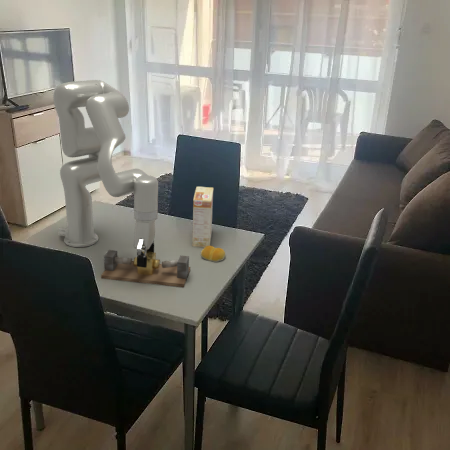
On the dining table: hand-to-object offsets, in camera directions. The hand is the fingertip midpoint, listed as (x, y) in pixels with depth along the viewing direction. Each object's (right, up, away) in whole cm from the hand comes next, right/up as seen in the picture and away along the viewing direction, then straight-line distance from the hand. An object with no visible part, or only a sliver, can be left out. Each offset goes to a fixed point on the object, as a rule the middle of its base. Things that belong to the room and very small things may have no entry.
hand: (145, 259), depth 169 cm
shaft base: (0, -5, +2) cm, 5 cm away
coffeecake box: (+18, +6, +30) cm, 35 cm away
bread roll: (+22, 0, +16) cm, 28 cm away
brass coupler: (0, -4, +1) cm, 4 cm away
